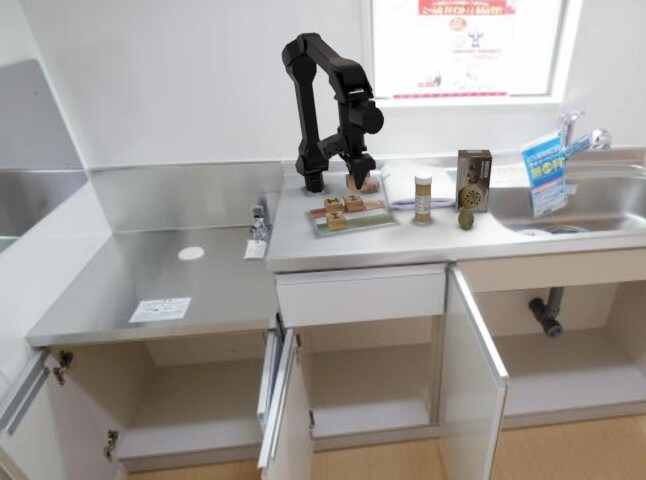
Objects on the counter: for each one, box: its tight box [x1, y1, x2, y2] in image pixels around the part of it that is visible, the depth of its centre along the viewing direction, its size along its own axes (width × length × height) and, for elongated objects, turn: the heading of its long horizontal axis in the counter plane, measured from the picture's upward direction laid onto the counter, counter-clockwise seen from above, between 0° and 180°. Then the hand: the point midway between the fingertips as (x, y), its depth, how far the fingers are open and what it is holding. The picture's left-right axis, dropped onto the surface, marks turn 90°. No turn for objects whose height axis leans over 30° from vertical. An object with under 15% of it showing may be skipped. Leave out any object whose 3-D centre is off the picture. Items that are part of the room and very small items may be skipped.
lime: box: [457, 209, 475, 230], centre depth 121 cm, size 4×5×5 cm
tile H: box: [323, 196, 344, 213], centre depth 126 cm, size 4×4×3 cm
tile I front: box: [325, 211, 347, 231], centre depth 119 cm, size 4×4×3 cm
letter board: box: [309, 199, 397, 235], centre depth 125 cm, size 15×22×1 cm
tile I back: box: [343, 193, 364, 212], centre depth 128 cm, size 4×4×3 cm
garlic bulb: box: [360, 170, 381, 194], centre depth 138 cm, size 8×7×8 cm
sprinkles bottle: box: [414, 171, 433, 223], centre depth 120 cm, size 5×5×13 cm
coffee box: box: [454, 149, 493, 213], centre depth 127 cm, size 9×6×16 cm
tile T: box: [344, 173, 367, 193], centre depth 115 cm, size 4×4×3 cm
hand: (356, 185), depth 116 cm, fingers closed on tile T, 4 cm apart
